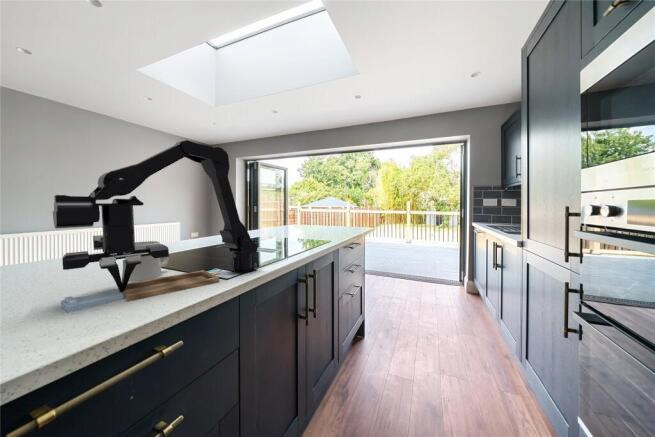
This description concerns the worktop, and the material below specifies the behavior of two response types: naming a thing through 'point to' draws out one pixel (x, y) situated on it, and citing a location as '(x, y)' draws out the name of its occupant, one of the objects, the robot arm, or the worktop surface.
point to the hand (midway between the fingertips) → (122, 291)
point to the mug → (147, 264)
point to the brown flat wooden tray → (168, 284)
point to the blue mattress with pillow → (90, 300)
